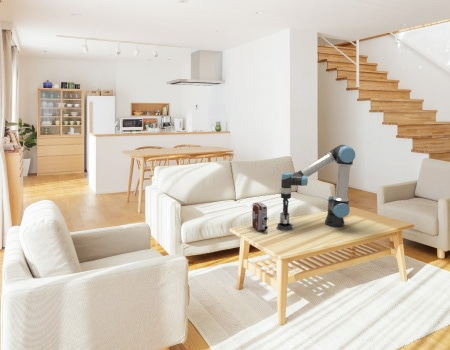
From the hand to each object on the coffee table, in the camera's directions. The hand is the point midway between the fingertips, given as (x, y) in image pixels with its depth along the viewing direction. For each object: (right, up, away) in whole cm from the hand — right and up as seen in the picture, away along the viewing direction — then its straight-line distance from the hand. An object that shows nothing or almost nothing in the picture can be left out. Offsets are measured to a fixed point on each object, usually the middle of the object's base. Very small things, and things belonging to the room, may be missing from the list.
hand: (284, 221), depth 304 cm
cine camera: (-19, -6, -3) cm, 20 cm away
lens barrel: (0, -5, +1) cm, 5 cm away
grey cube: (0, 0, 0) cm, 0 cm away
